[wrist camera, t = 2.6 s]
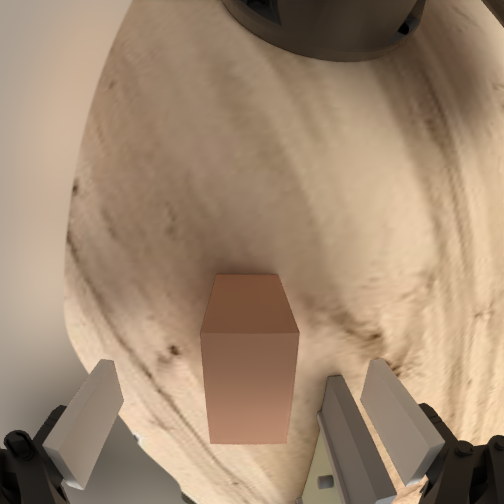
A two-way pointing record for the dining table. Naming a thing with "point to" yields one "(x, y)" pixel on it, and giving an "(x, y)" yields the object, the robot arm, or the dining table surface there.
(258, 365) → the orange brown rectangular block
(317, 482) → the door
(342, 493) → the frame
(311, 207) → the dining table surface
